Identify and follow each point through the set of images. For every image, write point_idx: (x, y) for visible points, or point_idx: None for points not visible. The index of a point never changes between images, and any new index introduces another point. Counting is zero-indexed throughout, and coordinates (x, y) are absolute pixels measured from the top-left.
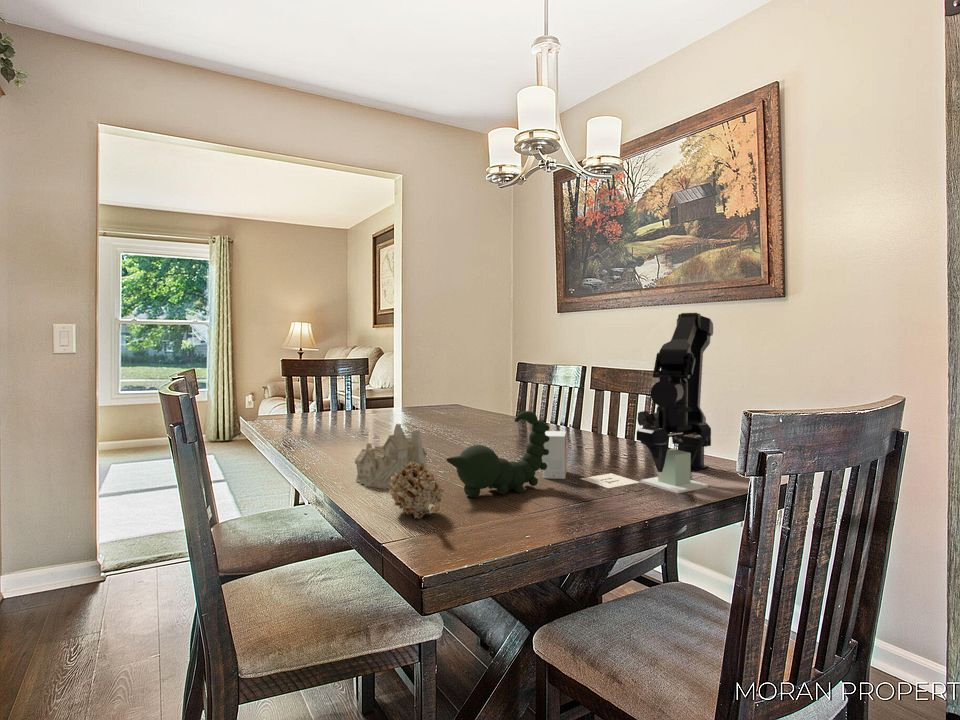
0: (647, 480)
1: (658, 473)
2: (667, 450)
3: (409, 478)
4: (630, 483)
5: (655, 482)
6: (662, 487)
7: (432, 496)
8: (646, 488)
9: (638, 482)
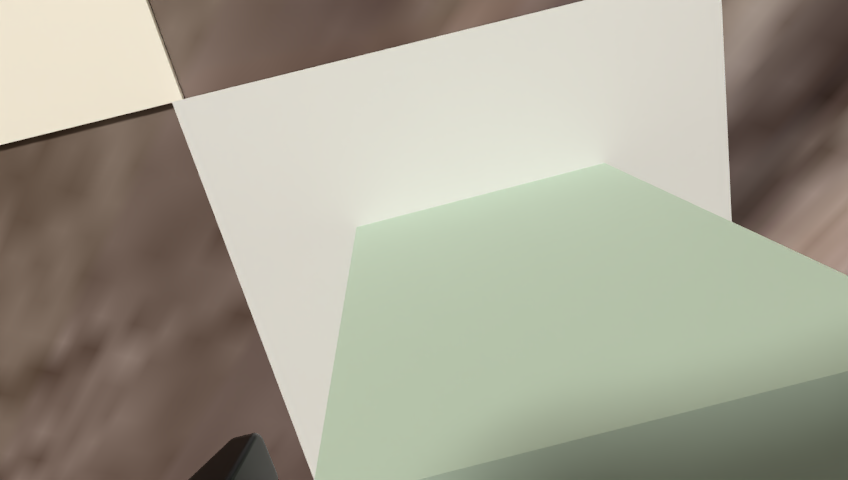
0: (246, 159)
1: (352, 264)
2: (671, 453)
3: None
4: (27, 116)
5: (296, 263)
6: (288, 404)
7: None
8: (143, 332)
9: (150, 106)
